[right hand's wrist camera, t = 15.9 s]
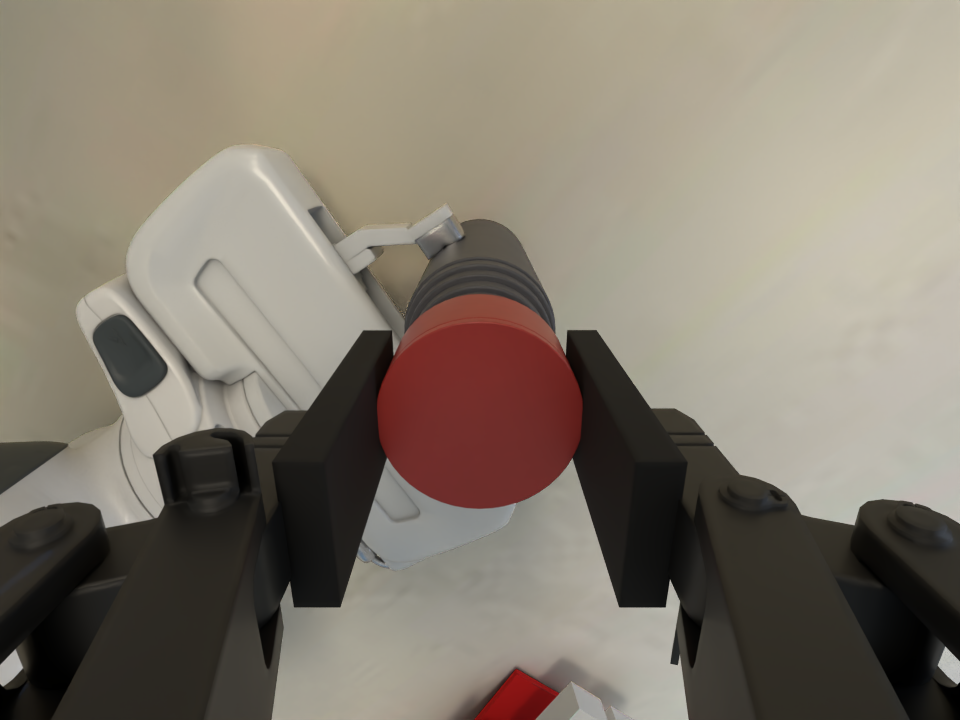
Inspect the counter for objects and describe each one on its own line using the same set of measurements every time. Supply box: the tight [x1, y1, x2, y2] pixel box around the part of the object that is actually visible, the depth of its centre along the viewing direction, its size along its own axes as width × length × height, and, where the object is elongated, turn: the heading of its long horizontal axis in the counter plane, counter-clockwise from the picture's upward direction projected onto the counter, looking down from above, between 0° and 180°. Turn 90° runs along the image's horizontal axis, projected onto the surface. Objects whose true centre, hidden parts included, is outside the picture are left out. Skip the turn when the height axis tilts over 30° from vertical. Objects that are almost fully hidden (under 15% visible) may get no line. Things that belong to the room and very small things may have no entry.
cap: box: [377, 294, 583, 509], centre depth 13 cm, size 5×5×2 cm
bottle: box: [404, 219, 555, 334], centre depth 21 cm, size 5×5×18 cm
